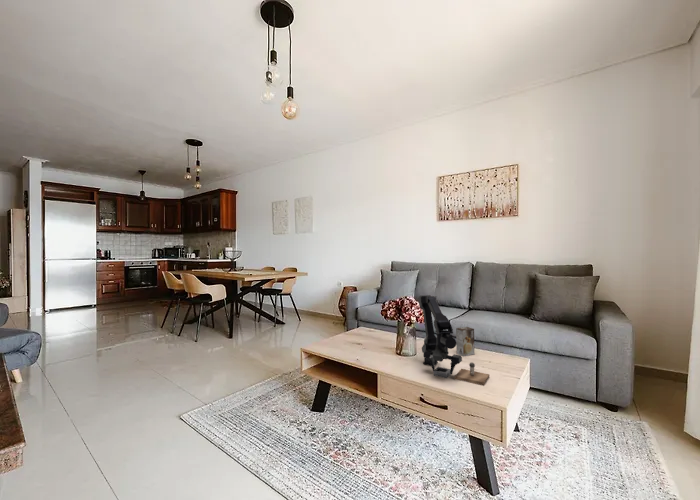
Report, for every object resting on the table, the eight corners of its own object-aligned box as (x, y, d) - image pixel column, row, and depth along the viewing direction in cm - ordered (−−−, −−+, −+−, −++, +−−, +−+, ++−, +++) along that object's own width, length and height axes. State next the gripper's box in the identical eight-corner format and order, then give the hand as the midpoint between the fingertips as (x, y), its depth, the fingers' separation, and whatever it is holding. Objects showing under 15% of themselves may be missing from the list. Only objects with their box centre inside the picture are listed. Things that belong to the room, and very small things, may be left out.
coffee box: (467, 351, 203) (467, 326, 203) (474, 354, 198) (474, 328, 198) (456, 353, 200) (455, 328, 200) (463, 356, 194) (463, 330, 194)
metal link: (433, 375, 166) (433, 370, 166) (438, 371, 171) (438, 366, 171) (446, 378, 162) (446, 373, 162) (451, 373, 167) (451, 369, 167)
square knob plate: (454, 379, 161) (454, 363, 161) (461, 371, 171) (461, 356, 171) (484, 385, 153) (484, 369, 153) (489, 377, 163) (489, 361, 163)
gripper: (419, 343, 165) (419, 373, 165) (455, 350, 154) (455, 382, 155) (427, 338, 174) (427, 367, 174) (462, 344, 164) (462, 374, 164)
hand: (442, 372), depth 166 cm, fingers open, 9 cm apart
